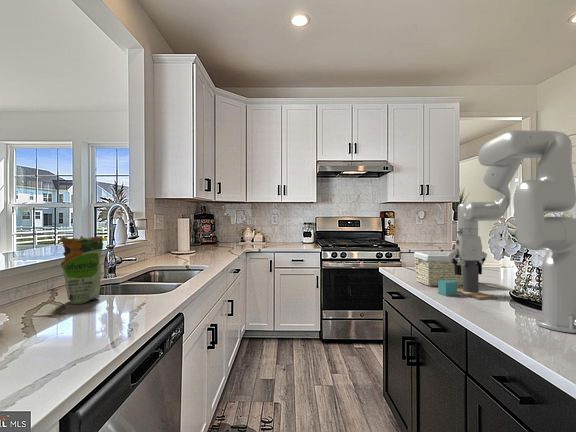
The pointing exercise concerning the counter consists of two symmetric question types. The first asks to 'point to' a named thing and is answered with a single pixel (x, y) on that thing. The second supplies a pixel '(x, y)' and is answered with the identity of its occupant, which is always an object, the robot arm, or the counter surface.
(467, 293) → the board
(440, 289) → the cube
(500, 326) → the counter surface
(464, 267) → the bottle
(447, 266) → the storage basket
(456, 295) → the mat
